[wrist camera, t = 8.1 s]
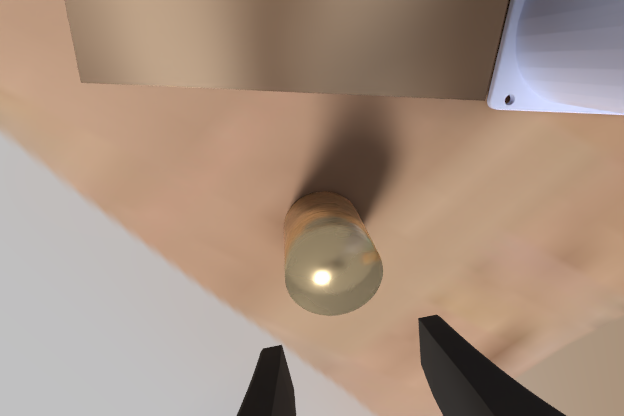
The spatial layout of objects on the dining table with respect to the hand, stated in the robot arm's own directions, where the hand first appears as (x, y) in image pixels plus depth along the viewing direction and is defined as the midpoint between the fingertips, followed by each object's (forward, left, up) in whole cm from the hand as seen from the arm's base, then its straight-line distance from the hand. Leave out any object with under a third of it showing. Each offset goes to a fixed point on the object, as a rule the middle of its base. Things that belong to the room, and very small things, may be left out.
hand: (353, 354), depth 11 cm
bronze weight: (0, 0, -10) cm, 10 cm away
